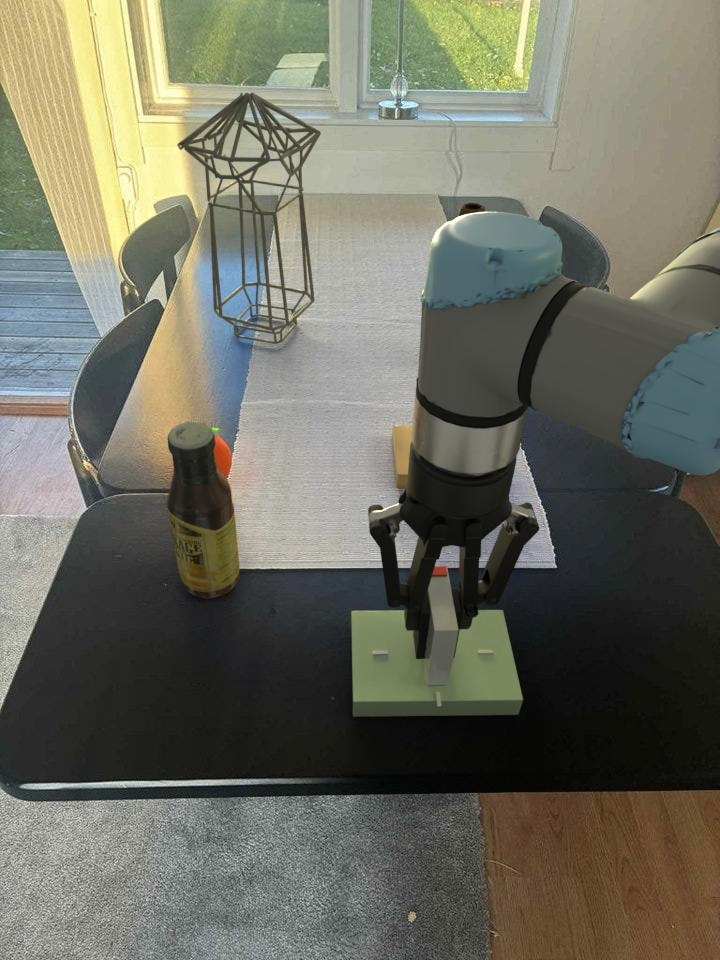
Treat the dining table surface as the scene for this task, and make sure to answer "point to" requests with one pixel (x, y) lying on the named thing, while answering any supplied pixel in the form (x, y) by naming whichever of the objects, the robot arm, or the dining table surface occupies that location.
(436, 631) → the grey upright flat block
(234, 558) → the sauce bottle
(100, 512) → the dining table surface
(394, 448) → the button block
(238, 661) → the dining table surface
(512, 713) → the plate
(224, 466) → the clementine
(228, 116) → the geometric lantern
